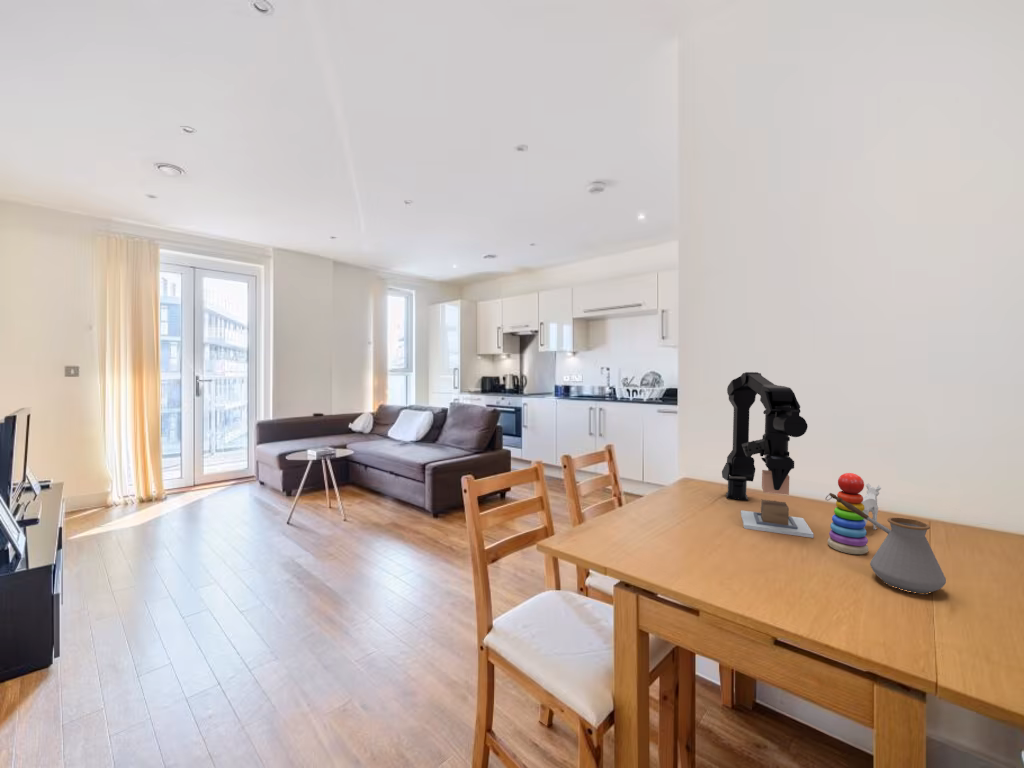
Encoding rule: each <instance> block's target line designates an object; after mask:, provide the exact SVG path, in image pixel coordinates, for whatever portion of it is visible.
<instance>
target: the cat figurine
mask: <svg viewBox="0 0 1024 768" xmlns="http://www.w3.org/2000/svg"><path fill="white" fill-rule="evenodd" d="M865 487H866V495H862V497H863V501H862V502H861V503H862V504H863V505H864V507H865V508H864V510H863V512H864V513H865V514H866V515H868V516H869V513H870V512H871V514H872V519H873V520H875V521H877V522H878V512H879V506H878V496H879V495H880V490H882V487H881V486H880V485H879V484H878V485H877V487H873V486H871V485H870V483H867V484H865ZM863 520H864V521H865V523H866V524H868V520H866V519H863ZM872 525H873V526H872V527H873V528H872V529H873V530H874V531H875V530H877V529H878V527H877V526H876V525H874V524H873V523H872Z"/></svg>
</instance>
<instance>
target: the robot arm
mask: <svg viewBox="0 0 1024 768" xmlns="http://www.w3.org/2000/svg"><path fill="white" fill-rule="evenodd" d="M726 393H727V395H728V401H729V402H730V404H731V406H732V407H733V419H732V420H733V421H732V422H733V423H732V424H733V425H732V427H733V429H732V449H731V451H730V453H729V454H728V455H727V456H726V462H725V464H724V466H723V469H722V471H721V478H723V479H724V480H725V481H727V492H725V495H726V499H731V500H740V501H749V497H748V494H747V487H748V486H747V485H748V483H747V482H754V479H755V474H756V465H755V458H754V457H752V456H754V455H758V454H759V456H760V457H761V458H760V459H761V460H762V461H763V462H764V464H765V467H766V468H767V470H769V471H771V473H772V479H773V485H774V489H775V490H779V489H780V487H781V486H782V484H783V482H784V480H785V479H786V477H787V475H789V474H790V472H791V471H792V470H794V469H795V460H793V458H792V457H791V456H790V451H789V442H790V440H791V438H790V437H792V438H800V437H801V436H804V435H805V434H806V432H807V430H808V423H807V420H806V419H805V418H804V417H803V416H801V415H800V413H801V405H800V403H799V400H798V399H797V398H796V395H795V392H794V391H793V389H792V388H791V387H790V386H789V387H788V386H785V385H777V384H776V383H775V384H774V383H773V382H772V381H770V380H769V379H768V378H766V377H764V376H763V375H762V373H761V372H757V371H755V372H753V371H750V372H749V371H748V372H747V371H746V372H743V373H742V374H741V375H740V376H738V377H736V378H733V379H732V380H731V381H730V382H729V384H728V385H727V389H726ZM757 395H759V396H760V399H759V401H760V402H761V404H762V406H763V408H764V410H763V414H764V415H765V416H764V417H765V419H764V423H765V424H764V433H763V434H762V438H760V439H757V440H751V441H749V439H750V438H749V436H750V409H751V408H752V406H753V405H754V403H755V401H756V398H757V397H756V396H757Z"/></svg>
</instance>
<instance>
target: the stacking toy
mask: <svg viewBox="0 0 1024 768" xmlns="http://www.w3.org/2000/svg"><path fill="white" fill-rule="evenodd" d="M837 486H838V487H839V489H840V491H838V492H837V494H836V496H837V497H838V498H842V500H844V501H846V502H848V503H850V504H852V505H853V506H855V507H856V508H858V509H859V510H860V511H862V512H863V510H864V508H865V507H864V505H863V504H862V503H861V502H862V501H863V497H862V496H863V495H861V492H863V490H864V488H865V482H864V480H863V478H862V477H861V476H860V475H859V474H856V473H852V472H846V473H843V474H841V475H840V476H839V477H838V480H837ZM835 506H836V507H835V508H834V510H833V511H834V512H833V513H834V514H833V515H832V517H831V520H832V522H831V523H830V531H829V537H828V538H827V545H829V547H830V548H831V549H834V550H836V551H838V552H841V553H846V554H849V555H865V554H867V553H868V552H869V547H868V545H867V544H868V542H869V541H868V538H867V532H868V531H867V530H866V528H865V527H866V526H867V523H865V521H864V520H863V519H864V518H863V517H861V516H859V515H858V514H856V513H854V512H853V511H851V510H849V509H848V508H846V507H845V506H844V505H843V504H842V503H840V502H837V500H836V501H835ZM863 513H864V512H863Z"/></svg>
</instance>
